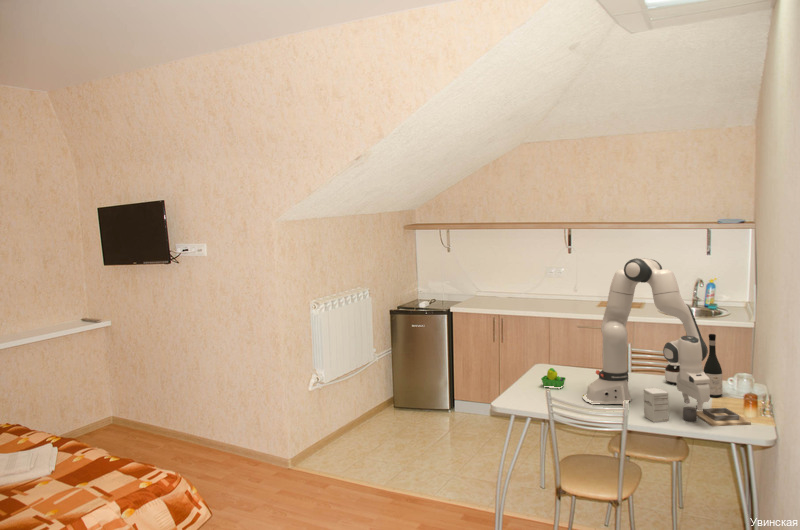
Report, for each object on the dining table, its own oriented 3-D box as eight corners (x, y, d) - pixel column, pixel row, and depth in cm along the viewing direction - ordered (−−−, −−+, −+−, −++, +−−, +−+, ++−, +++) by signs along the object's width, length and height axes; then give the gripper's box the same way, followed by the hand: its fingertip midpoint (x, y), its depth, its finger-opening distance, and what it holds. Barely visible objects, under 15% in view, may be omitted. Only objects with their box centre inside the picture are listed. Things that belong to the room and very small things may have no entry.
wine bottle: (725, 398, 265) (724, 335, 263) (706, 397, 267) (706, 335, 265) (719, 393, 273) (718, 332, 271) (701, 392, 275) (700, 332, 273)
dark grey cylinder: (686, 422, 236) (686, 410, 236) (680, 418, 241) (680, 407, 241) (699, 422, 236) (699, 410, 236) (693, 417, 241) (692, 406, 241)
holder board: (711, 426, 230) (711, 419, 230) (692, 413, 246) (692, 406, 246) (751, 424, 230) (750, 417, 230) (728, 412, 246) (728, 405, 246)
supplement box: (643, 416, 245) (643, 388, 244) (659, 415, 246) (659, 387, 245) (652, 422, 238) (652, 393, 237) (669, 421, 238) (668, 392, 238)
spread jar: (674, 386, 287) (674, 364, 287) (657, 381, 298) (656, 360, 297) (691, 383, 292) (691, 361, 292) (673, 378, 303) (672, 357, 302)
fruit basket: (566, 386, 296) (565, 365, 295) (561, 391, 289) (560, 369, 288) (545, 384, 302) (544, 364, 301) (540, 388, 295) (539, 367, 294)
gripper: (671, 369, 248) (673, 399, 249) (697, 381, 228) (698, 414, 228) (685, 368, 248) (687, 398, 249) (712, 379, 228) (713, 413, 228)
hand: (693, 406), depth 238 cm, fingers open, 8 cm apart
